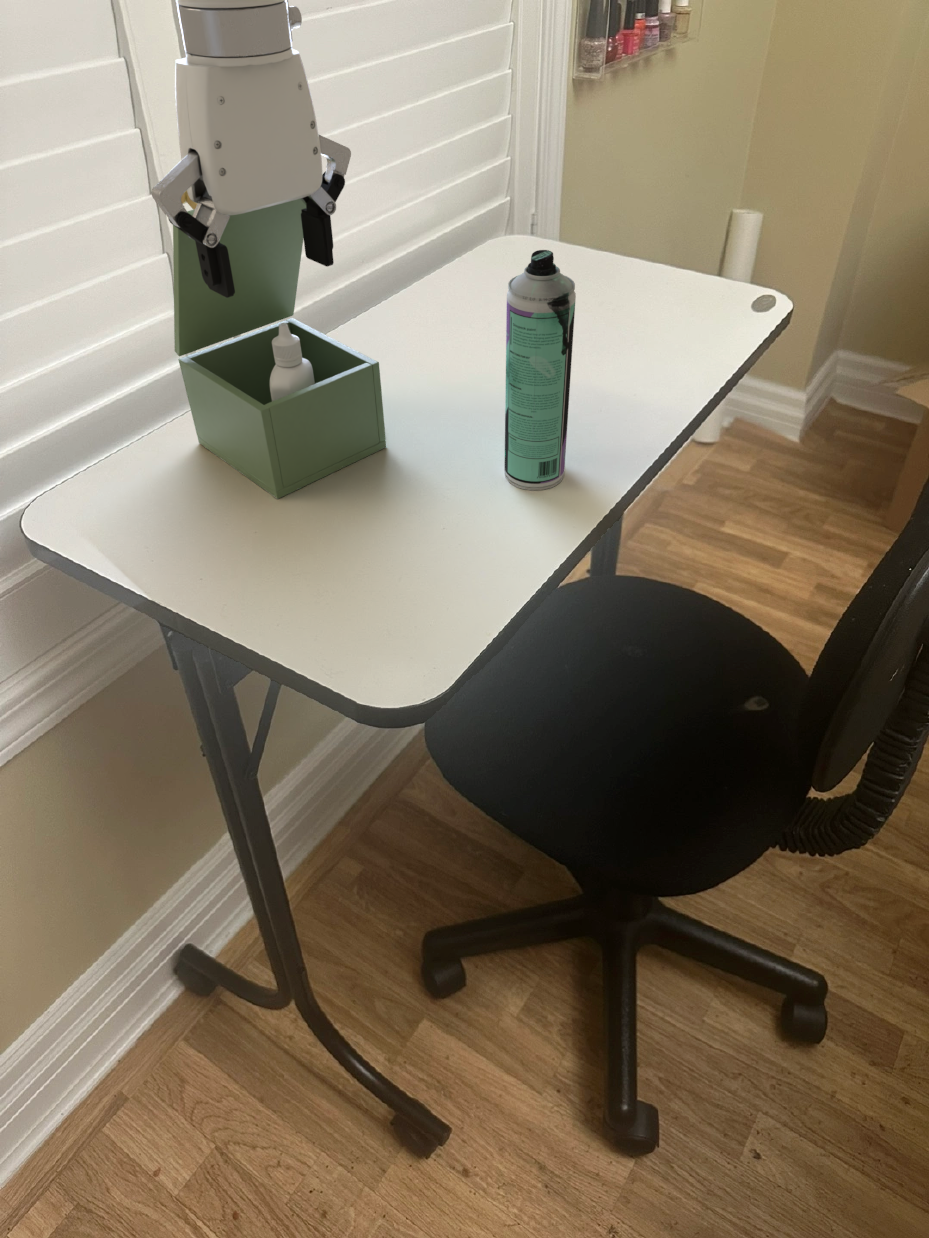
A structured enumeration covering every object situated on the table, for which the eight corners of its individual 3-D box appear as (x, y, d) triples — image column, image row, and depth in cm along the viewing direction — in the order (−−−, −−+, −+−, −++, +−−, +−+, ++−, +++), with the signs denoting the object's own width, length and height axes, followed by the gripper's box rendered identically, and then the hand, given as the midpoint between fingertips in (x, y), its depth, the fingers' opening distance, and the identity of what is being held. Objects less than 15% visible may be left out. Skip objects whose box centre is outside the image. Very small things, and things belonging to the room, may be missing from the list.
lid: (310, 184, 76) (268, 140, 78) (178, 221, 70) (135, 172, 71) (293, 315, 88) (257, 275, 90) (179, 357, 82) (142, 312, 84)
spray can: (574, 468, 84) (590, 248, 70) (545, 497, 80) (556, 272, 67) (523, 452, 86) (529, 236, 73) (493, 479, 83) (493, 258, 69)
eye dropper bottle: (264, 450, 85) (241, 329, 77) (308, 427, 89) (290, 307, 81) (295, 466, 83) (274, 342, 75) (339, 441, 86) (324, 320, 78)
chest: (386, 447, 87) (379, 362, 81) (277, 499, 81) (260, 411, 75) (304, 398, 95) (291, 317, 89) (198, 443, 88) (177, 358, 82)
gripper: (306, 14, 70) (329, 241, 81) (97, 42, 61) (155, 292, 73) (366, 25, 66) (382, 262, 77) (151, 56, 57) (204, 319, 68)
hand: (272, 276), depth 75 cm, fingers open, 9 cm apart
